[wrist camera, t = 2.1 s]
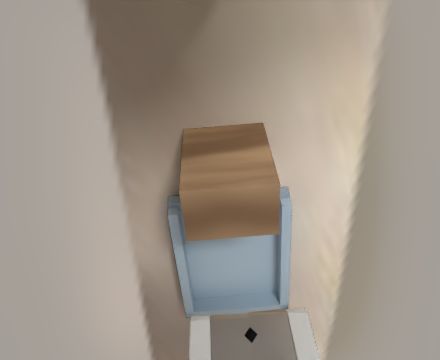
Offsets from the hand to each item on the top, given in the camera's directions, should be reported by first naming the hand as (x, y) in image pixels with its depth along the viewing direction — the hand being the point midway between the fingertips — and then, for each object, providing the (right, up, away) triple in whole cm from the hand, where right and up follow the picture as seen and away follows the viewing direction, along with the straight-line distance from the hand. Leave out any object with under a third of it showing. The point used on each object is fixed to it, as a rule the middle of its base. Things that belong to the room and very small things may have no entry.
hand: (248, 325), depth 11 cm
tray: (0, -3, +27) cm, 28 cm away
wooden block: (0, +6, +21) cm, 22 cm away
